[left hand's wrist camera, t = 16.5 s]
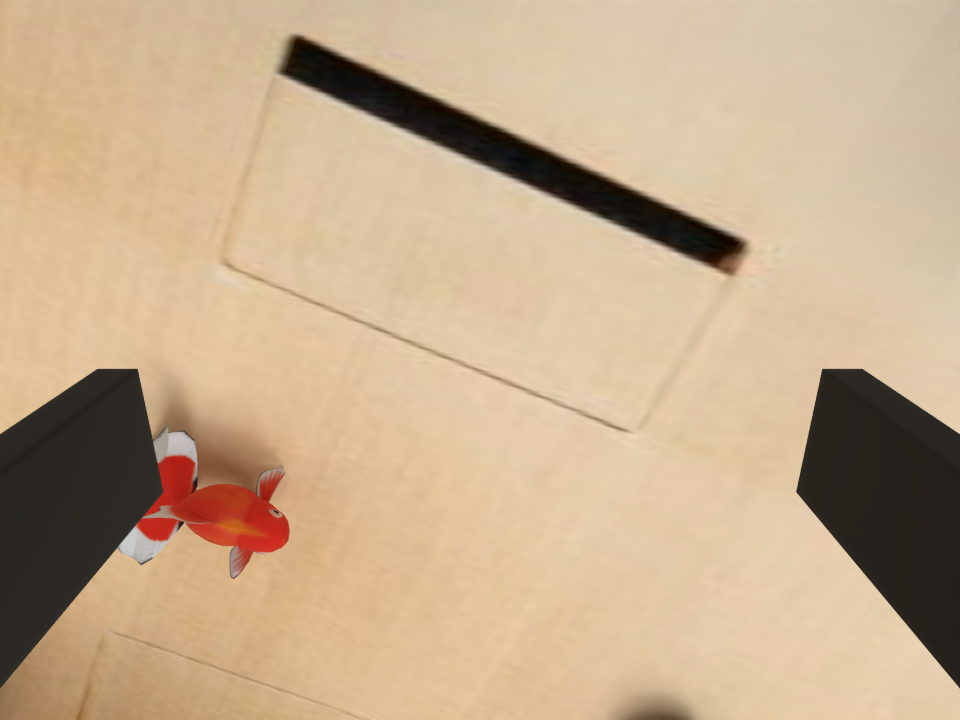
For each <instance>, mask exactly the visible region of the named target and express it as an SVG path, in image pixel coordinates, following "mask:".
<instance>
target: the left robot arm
mask: <svg viewBox="0 0 960 720" xmlns="http://www.w3.org/2000/svg"><path fill="white" fill-rule="evenodd" d="M163 492H164V491H163V486H162V481H161V477H160V472H159V467H158V463H157V458H156V453H155V449H154V444H153V439H152V434H151V430H150V425H149V420H148V416H147V411H146V406H145V402H144V397H143V392H142V387H141V383H140V378H139V373H138V369H97V370H95V371H94V372H92V373H91V374H89V375H88V376H86V377H85V378H83V379H82V380H80V381H79V382H77V383H76V384H74V385H73V386H71V387H70V388H68V389H67V390H65V391H64V392H62V393H61V394H59V395H58V396H57V397H55V398H54V399H52V400H51V401H49V402H48V403H46V404H45V405H43V406H42V407H40V408H39V409H37V410H36V411H34V412H33V413H31V414H30V415H28V416H27V417H25V418H24V419H22V420H21V421H19V422H18V423H16V424H15V425H13V426H12V427H10V428H9V429H7V430H6V431H4V432H3V433H1V434H0V688H1V687H2V685H3V684H4V683H5V682H6V681H7V679H8V678H9V677H10V676H11V675H12V673H13V672H14V671H15V670H16V669H17V667H18V666H19V665H20V664H21V663H22V661H23V660H24V659H25V658H26V657H27V655H28V654H29V653H30V652H31V651H32V649H33V648H34V647H35V646H36V645H37V643H38V642H39V641H40V640H41V639H42V637H43V636H44V635H45V634H46V633H47V631H48V630H49V629H50V628H51V627H52V625H53V624H54V623H55V622H56V621H57V619H58V618H59V617H60V616H61V615H62V613H63V612H64V611H65V610H66V609H67V607H68V606H69V605H70V604H71V603H72V601H73V600H74V599H75V598H76V597H77V595H78V594H79V593H80V592H81V591H82V589H83V588H84V587H85V586H86V585H87V583H88V582H89V581H90V580H91V579H92V577H93V576H94V575H95V574H96V573H97V571H98V570H99V569H100V568H101V567H102V565H103V564H104V563H105V562H106V561H107V559H108V558H109V557H110V556H111V555H112V553H113V552H114V551H115V550H116V549H117V547H118V546H119V545H120V544H121V543H122V541H123V540H124V539H125V538H126V537H127V535H128V534H129V533H130V532H131V531H132V529H133V528H134V527H135V526H136V525H137V523H138V522H139V521H140V520H141V519H142V518H143V516H144V515H145V514H146V513H147V512H148V510H149V509H150V508H151V507H152V506H153V504H154V503H155V502H156V501H157V500H158V498H159V497H160V496H161V495H162V494H163ZM796 492H797V494H798V495H799V496H800V497H801V498H802V500H803V501H804V502H805V503H806V504H807V506H808V507H809V508H810V509H811V510H812V512H813V513H814V514H815V515H816V516H817V518H818V519H819V520H820V521H821V522H822V523H823V525H824V526H825V527H826V528H827V529H828V531H829V532H830V533H831V534H832V535H833V537H834V538H835V539H836V540H837V541H838V543H839V544H840V545H841V546H842V547H843V549H844V550H845V551H846V552H847V553H848V555H849V556H850V557H851V558H852V559H853V561H854V562H855V563H856V564H857V565H858V567H859V568H860V569H861V570H862V571H863V573H864V574H865V575H866V576H867V577H868V579H869V580H870V581H871V582H872V583H873V585H874V586H875V587H876V588H877V589H878V591H879V592H880V593H881V594H882V595H883V597H884V598H885V599H886V600H887V601H888V603H889V604H890V605H891V606H892V607H893V609H894V610H895V611H896V612H897V613H898V615H899V616H900V617H901V618H902V619H903V621H904V622H905V623H906V624H907V625H908V627H909V628H910V629H911V630H912V631H913V633H914V634H915V635H916V636H917V637H918V639H919V640H920V641H921V642H922V643H923V645H924V646H925V647H926V648H927V649H928V651H929V652H930V653H931V654H932V655H933V657H934V658H935V659H936V660H937V661H938V663H939V664H940V665H941V666H942V667H943V669H944V670H945V671H946V672H947V673H948V675H949V676H950V677H951V678H952V679H953V681H954V682H955V683H956V684H957V685H958V687H959V688H960V434H959V433H957V432H956V431H954V430H953V429H951V428H950V427H948V426H947V425H945V424H944V423H942V422H941V421H939V420H938V419H936V418H935V417H933V416H932V415H930V414H929V413H927V412H926V411H924V410H923V409H921V408H920V407H918V406H917V405H915V404H914V403H912V402H911V401H909V400H908V399H906V398H905V397H903V396H902V395H901V394H899V393H898V392H896V391H895V390H893V389H892V388H890V387H889V386H887V385H886V384H884V383H883V382H881V381H880V380H878V379H877V378H875V377H874V376H872V375H871V374H869V373H868V372H866V371H865V370H863V369H822V373H821V378H820V383H819V387H818V392H817V397H816V402H815V406H814V411H813V416H812V420H811V425H810V430H809V434H808V439H807V444H806V449H805V453H804V458H803V463H802V467H801V472H800V477H799V481H798V486H797V491H796Z"/></svg>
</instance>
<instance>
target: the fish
mask: <svg viewBox="0 0 960 720" xmlns="http://www.w3.org/2000/svg"><path fill="white" fill-rule="evenodd" d="M153 444H154V449H155V453H156V458H157V463H158V467H159V472H160V477H161V481H162V486H163V491H164V492H163V494H162V495H161V496H160V497H159V498H158V500H157V501H156V502H155V503H154V504H153V506H152V507H151V508H150V509H149V510H148V512H147V513H146V514H145V515H144V516H143V518H142V519H141V520H140V521H139V522H138V523H137V525H136V526H135V527H134V528H133V529H132V531H131V532H130V533H129V534H128V535H127V537H126V538H125V539H124V540H123V541H122V543H121V544H120V545H119V546H118V547H117V548H118V549H119V551H120V552H121V553H123V554H125V555H128V556H130V557H132V558H134V559H135V560H136V561H137V562H138V563H139V564H141V565H142V564H144V563H146V562H147V561H149V560H151V559H152V558H153V557H155V556H156V555H157V554H158V553H159V552H160V551H161V550H162V549H163V548H164V547H165V545H166V544H167V543H168V542H169V541H170V540H171V538H172V537H173V536H174V535H175V534H176V532H177V531H178V530H179V529H180V527H181V526H182V525H183V524H184V522H186V524H187V526H188V527H189V528H190V529H191V530H192V531H193V532H194V533H196V534H197V535H198V536H200V537H201V538H203V539H205V540H207V541H209V542H212V543H214V544H218V545H222V546H235V547H234V548H233V549H232V550H231V553H230V576H231V578H233V579H234V578H236V577H237V576H238V575H239V574H240V573H241V572H242V571H243V569H244V567H245V566H246V564H247V563H248V562H249V561H250V559H251V556H252V554H253V552H254V551H255V552H256V553H258V554H267V553H270V552H273V551H275V550H277V549H280V548H282V547H283V546H284V545H285V544H286V543H287V541H288V539H289V532H290V530H289V524H288V521H287V518H286V517H285V516H284V515H283V514H282V513H281V512H280V511H279V510H277V509H276V508H275V507H274V506H273V505H272V504H270V503H269V501H270V499H271V497H272V495H273V493H274V491H275V489H276V488H277V486H278V484H279V482H280V480H281V479H282V477H283V476H284V474H285V472H284V469H283V468H274V469H271V470H268V471H265V472H263V473H262V474H261V475H260V477H259V480H258V484H257V489H256V494H255V493H254V492H252V491H250V490H248V489H246V488H243V487H240V486H236V485H229V484H217V485H212V486H208V487H205V488H202V489H200V490H196V488H197V453H196V447H195V442H194V439H193V438H192V437H191V436H189V435H188V434H187V433H186V432H185V431H179V432H172V433H169V429H168V425H167V426H166V427H165V428H164V429H163V430H162V431H161V432H160V434H159V435H158V436H157V437H156V438H155V439H154V440H153Z"/></svg>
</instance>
